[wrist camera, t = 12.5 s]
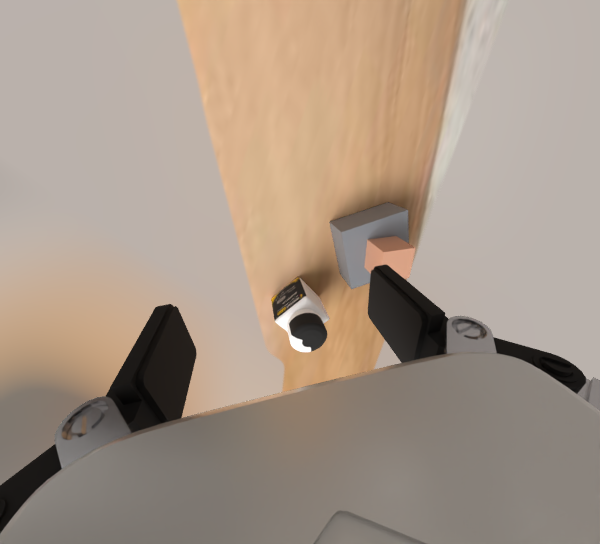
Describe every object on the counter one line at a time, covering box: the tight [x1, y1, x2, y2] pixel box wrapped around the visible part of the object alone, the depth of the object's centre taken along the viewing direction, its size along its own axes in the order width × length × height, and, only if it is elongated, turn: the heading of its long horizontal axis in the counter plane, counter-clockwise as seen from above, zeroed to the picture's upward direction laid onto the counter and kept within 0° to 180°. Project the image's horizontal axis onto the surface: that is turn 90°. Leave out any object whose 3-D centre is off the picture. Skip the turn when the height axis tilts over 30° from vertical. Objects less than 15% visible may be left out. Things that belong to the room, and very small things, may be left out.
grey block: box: [330, 202, 409, 289], centre depth 41 cm, size 11×11×6 cm
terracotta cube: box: [364, 236, 416, 278], centre depth 36 cm, size 5×5×5 cm
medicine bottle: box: [271, 277, 329, 352], centre depth 41 cm, size 7×7×12 cm
